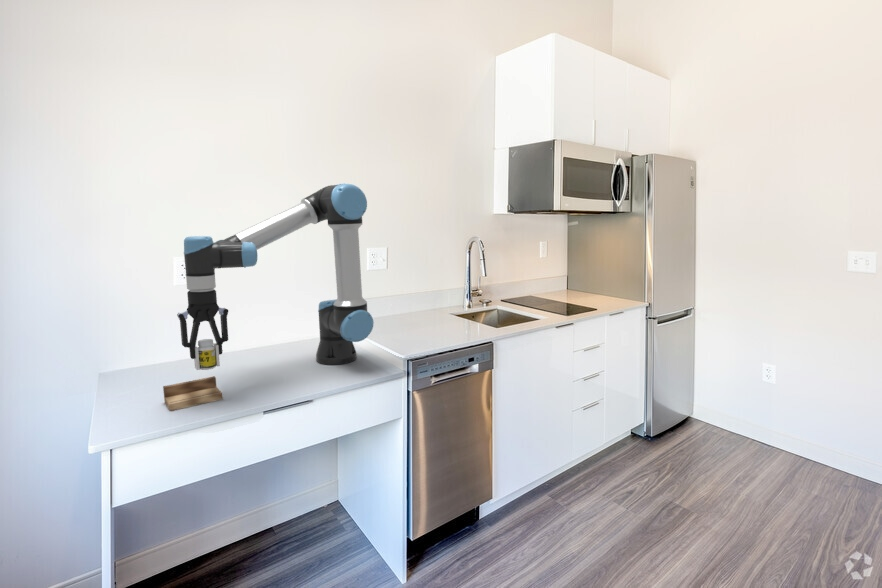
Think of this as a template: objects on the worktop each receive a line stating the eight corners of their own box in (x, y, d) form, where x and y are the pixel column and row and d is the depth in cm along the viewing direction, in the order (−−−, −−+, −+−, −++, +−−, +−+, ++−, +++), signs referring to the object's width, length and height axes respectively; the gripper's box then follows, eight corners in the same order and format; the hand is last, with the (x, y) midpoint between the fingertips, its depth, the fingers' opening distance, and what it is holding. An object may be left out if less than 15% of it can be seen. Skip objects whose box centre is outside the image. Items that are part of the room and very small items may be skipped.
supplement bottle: (195, 370, 139) (193, 342, 138) (204, 365, 144) (201, 338, 143) (211, 370, 139) (209, 342, 138) (219, 365, 144) (217, 338, 142)
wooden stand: (215, 391, 148) (214, 376, 148) (222, 399, 142) (221, 383, 142) (164, 402, 140) (163, 386, 139) (169, 411, 134) (168, 394, 133)
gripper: (230, 285, 146) (234, 358, 150) (164, 290, 135) (171, 369, 139) (237, 288, 140) (242, 364, 144) (169, 294, 129) (176, 376, 133)
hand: (207, 366), depth 141 cm, fingers closed on supplement bottle, 5 cm apart
